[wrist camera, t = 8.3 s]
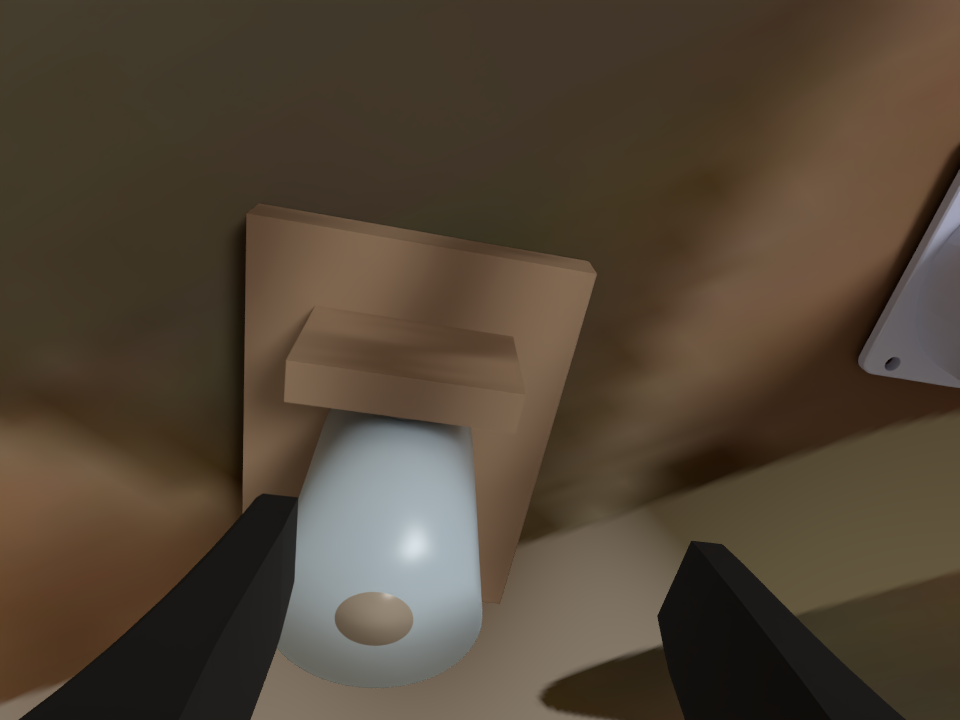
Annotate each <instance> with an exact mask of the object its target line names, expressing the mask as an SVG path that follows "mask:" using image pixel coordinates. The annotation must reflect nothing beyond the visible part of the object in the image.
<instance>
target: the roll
mask: <svg viewBox="0 0 960 720" xmlns="http://www.w3.org/2000/svg"><path fill="white" fill-rule="evenodd" d="M481 624H482V597H481V579H480V561H479V543H478V525H477V507H476V489H475V471H474V453H473V437H472V430H471V427H465V426H458V425H451V424H443V423H436V422H429V421H421V420H398V419H395V418H393V417H391V416H385V415H377V414H370V413H362V412H355V411H348V410H340V409H333V408H331V410H330V411H329V413H328V415H327V417H326V420H325V423H324V425H323V428H322V431H321V434H320V437H319V440H318V443H317V446H316V449H315V452H314V455H313V458H312V461H311V464H310V467H309V469H308V472H307V475H306V478H305V481H304V484H303V487H302V490H301V493H300V496H299V499H298V518H297V539H296V559H295V580H294V585H293V589H292V593H291V597H290V601H289V605H288V609H287V613H286V617H285V621H284V625H283V629H282V633H281V637H280V640H279V643H278V646H277V648H278V649H279V651H280V652H281V653H282V654H283V655H284V656H285V657H287V658H288V659H289V660H290V661H291V662H293V663H294V664H295V665H297V666H298V667H300V668H302V669H303V670H305V671H307V672H309V673H310V674H313V675H315V676H317V677H319V678H322V679H325V680H328V681H331V682H334V683H338V684H343V685H347V686H354V687H363V688H389V687H399V686H404V685H409V684H413V683H417V682H420V681H424V680H426V679H429V678H432V677H434V676H436V675H438V674H440V673H442V672H444V671H446V670H447V669H449V668H450V667H452V666H453V665H455V664H456V663H457V662H458V661H460V660H461V659H462V658H463V657H464V656H465V655H466V654H467V653H468V651H469V650H470V649H471V648H472V646H473V644H474V643H475V641H476V639H477V637H478V635H479V632H480V629H481Z"/></svg>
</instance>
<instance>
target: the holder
mask: <svg viewBox="0 0 960 720" xmlns="http://www.w3.org/2000/svg"><path fill="white" fill-rule="evenodd" d="M596 275H597V274H596V272H595V270H594V269H593V267H592V266H591V264H590V263H589V261H584V260H578V259H573V258H567V257H561V256H556V255H550V254H544V253H538V252H533V251H527V250H521V249H516V248H510V247H504V246H499V245H493V244H487V243H482V242H476V241H470V240H465V239H459V238H453V237H447V236H442V235H436V234H430V233H425V232H419V231H413V230H408V229H402V228H396V227H391V226H385V225H379V224H374V223H368V222H362V221H356V220H351V219H345V218H339V217H334V216H328V215H322V214H317V213H311V212H305V211H300V210H294V209H288V208H283V207H277V206H271V205H265V204H260V203H259V204H258V205H256V206H255V207H254V208H253V209H251V210H250V211H249V212H248V213H247V214H246V288H245V361H244V434H243V507H242V514H243V513H244V512H245V510H246V509H247V508H248V507H249V506H250V504H251V503H252V502H253V501H254V499H255V498H256V497H258V496H259V495H261V494H272V495H281V496H290V497H298V499H299V496H300V493H301V490H302V487H303V484H304V481H305V478H306V475H307V472H308V469H309V467H310V464H311V461H312V458H313V455H314V452H315V449H316V446H317V443H318V440H319V437H320V434H321V431H322V428H323V425H324V423H325V420H326V417H327V415H328V413H329V411H330V410H331V408H333V409H340V410H348V411H355V412H362V413H370V414H377V415H385V416H391V417H393V418H395V419H398V420H421V421H429V422H436V423H443V424H451V425H458V426H465V427H471V430H472V437H473V453H474V471H475V489H476V507H477V525H478V543H479V561H480V579H481V597H482V602H486V603H487V602H488V603H497V604H500V602H501V598H502V595H503V592H504V588H505V585H506V582H507V578H508V575H509V571H510V568H511V565H512V561H513V558H514V554H515V551H516V548H517V544H518V541H519V537H520V534H521V531H522V527H523V524H524V520H525V517H526V514H527V510H528V507H529V503H530V500H531V497H532V493H533V490H534V486H535V483H536V480H537V476H538V473H539V469H540V466H541V463H542V459H543V456H544V452H545V449H546V446H547V442H548V439H549V435H550V432H551V429H552V425H553V422H554V418H555V415H556V411H557V408H558V405H559V401H560V398H561V394H562V391H563V388H564V384H565V381H566V377H567V374H568V371H569V367H570V364H571V360H572V357H573V354H574V350H575V347H576V343H577V340H578V337H579V333H580V330H581V326H582V323H583V320H584V316H585V313H586V309H587V306H588V303H589V299H590V296H591V292H592V289H593V286H594V282H595V279H596Z"/></svg>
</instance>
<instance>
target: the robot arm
mask: <svg viewBox="0 0 960 720" xmlns="http://www.w3.org/2000/svg"><path fill="white" fill-rule="evenodd" d="M892 357H893V358H892ZM890 358H892V361H891V362H890V363H888V364H886V365H885V363H886V362H887V361H888V360H889V359H890ZM858 363H859V366H860V367H861V368H862V369H863V370H865V371H866V372H868V373H870V374H874V375H881V376H887V377H893V378H899V379H905V380H912V381H918V382H924V383H930V384H936V385H943V386H949V387H955V388H960V169H959V171H958V173H957V175H956V177H955V179H954V181H953V182H952V184H951V186H950V188H949V190H948V192H947V194H946V195H945V197H944V199H943V201H942V203H941V205H940V207H939V208H938V210H937V212H936V214H935V216H934V218H933V220H932V221H931V223H930V225H929V227H928V229H927V231H926V233H925V235H924V236H923V238H922V240H921V242H920V244H919V246H918V248H917V249H916V251H915V253H914V255H913V257H912V259H911V261H910V262H909V264H908V266H907V268H906V270H905V272H904V274H903V275H902V277H901V279H900V281H899V283H898V285H897V287H896V288H895V290H894V292H893V294H892V296H891V298H890V300H889V301H888V303H887V305H886V307H885V309H884V311H883V313H882V314H881V316H880V318H879V320H878V322H877V324H876V326H875V327H874V329H873V331H872V333H871V335H870V337H869V339H868V340H867V342H866V344H865V346H864V348H863V350H862V352H861V353H860V356H859V359H858ZM297 518H298V497H290V496H281V495H272V494H261V495H259V496H258V497H256V498H255V499H254V501H253V502H252V503H251V504H250V506H249V507H248V508H247V509H246V510H245V512H244V513H243V514H242V515H241V516H240V518H239V519H238V520H237V521H236V522H235V523H234V524H233V526H232V527H231V528H230V529H229V530H228V531H227V532H226V534H225V535H224V536H223V537H222V538H221V539H220V540H219V541H218V542H217V543H216V544H215V546H214V547H213V548H212V549H211V550H210V551H209V552H208V553H207V554H206V555H205V556H204V557H203V558H202V559H201V560H200V561H199V562H198V563H197V564H196V565H195V566H194V567H193V569H192V570H191V571H190V572H189V573H188V574H187V575H186V576H185V577H184V578H183V579H182V580H181V581H180V582H179V583H178V584H177V585H176V586H175V587H174V588H173V589H172V590H171V591H170V592H169V593H168V594H167V595H166V596H165V597H164V598H162V599H161V600H160V601H159V602H158V603H157V604H156V605H155V606H154V607H153V608H152V609H151V610H150V611H148V612H147V613H146V614H145V615H144V616H143V617H142V618H141V619H140V620H139V621H138V622H137V623H136V624H135V625H133V626H132V627H131V628H130V629H129V630H128V631H127V632H126V633H125V634H124V635H123V636H121V637H120V638H119V639H118V640H117V641H116V642H115V643H113V644H112V645H111V646H110V647H109V648H108V649H106V650H105V651H104V652H103V653H102V654H101V655H99V656H98V657H97V658H96V659H95V660H94V661H92V662H91V663H90V664H89V665H88V666H86V667H85V668H84V669H83V670H81V671H80V672H79V673H78V674H77V675H75V676H74V677H73V678H72V679H70V680H69V681H68V682H67V683H66V684H64V685H63V686H62V687H61V688H59V689H58V690H57V691H56V692H54V693H53V694H52V695H51V696H49V697H48V698H47V699H45V700H44V701H43V702H41V703H40V704H39V705H37V706H36V707H35V708H33V709H32V710H31V711H30V712H28V713H27V714H26V715H24V716H23V717H22V718H20V719H19V720H250V719H251V716H252V714H253V711H254V709H255V706H256V703H257V700H258V698H259V695H260V692H261V690H262V687H263V684H264V681H265V679H266V676H267V673H268V670H269V668H270V665H271V662H272V659H273V657H274V654H275V651H276V648H277V646H278V643H279V640H280V637H281V633H282V629H283V625H284V621H285V617H286V613H287V609H288V605H289V601H290V597H291V593H292V589H293V585H294V580H295V559H296V539H297ZM658 621H659V626H660V632H661V637H662V642H663V647H664V652H665V656H666V660H667V665H668V669H669V673H670V676H671V679H672V682H673V685H674V688H675V691H676V694H677V697H678V700H679V703H680V706H681V709H682V712H683V715H684V718H685V720H906V719H904V718H903V717H902V716H901V715H900V714H899V713H898V712H896V711H895V710H894V709H893V708H892V707H891V706H889V705H888V704H887V703H886V702H885V701H884V700H883V699H882V698H881V697H879V696H878V695H877V694H876V693H875V692H874V691H873V690H872V689H871V688H870V687H868V686H867V685H866V684H865V683H864V682H863V681H862V680H861V679H860V678H859V677H858V676H856V675H855V674H854V673H853V672H852V671H851V670H850V669H849V668H848V667H847V666H846V665H845V664H844V663H842V662H841V661H840V660H839V659H838V658H837V657H836V656H835V655H834V654H833V653H832V652H831V651H830V650H829V649H828V648H827V647H826V646H825V645H824V644H823V643H822V642H821V641H820V640H818V639H817V638H816V637H815V636H814V635H813V634H812V633H811V632H810V631H809V630H808V629H807V628H806V627H805V626H804V625H803V624H802V623H801V622H800V621H799V620H798V619H797V618H796V617H795V616H794V615H793V614H792V613H791V612H790V611H789V610H788V609H787V608H786V607H785V606H784V605H783V604H782V603H781V602H780V601H779V600H778V599H777V598H776V597H775V596H774V595H773V594H772V593H771V592H770V591H769V590H768V589H767V588H766V587H765V585H764V584H763V583H761V581H759V579H758V578H757V577H755V575H754V574H753V573H752V572H751V571H750V570H748V568H746V566H745V565H744V564H743V563H741V562H740V560H738V559H737V558H736V557H735V556H734V555H733V554H732V553H731V552H730V551H729V550H728V549H727V548H726V547H725V546H724V545H722V544H715V543H706V542H696V541H691V543H690V545H689V547H688V549H687V552H686V554H685V556H684V558H683V561H682V563H681V565H680V567H679V570H678V572H677V574H676V576H675V578H674V581H673V583H672V585H671V587H670V589H669V592H668V594H667V596H666V598H665V600H664V603H663V605H662V607H661V609H660V612H659V614H658Z"/></svg>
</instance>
